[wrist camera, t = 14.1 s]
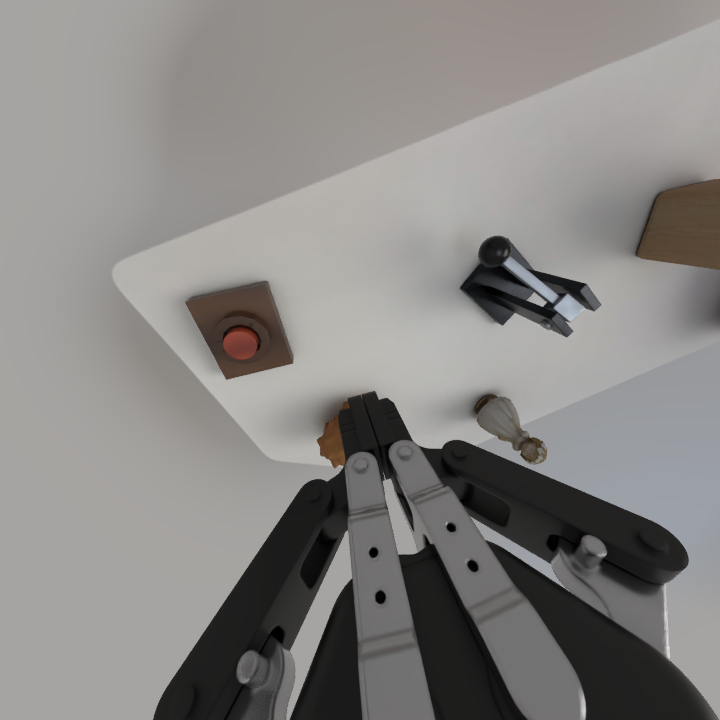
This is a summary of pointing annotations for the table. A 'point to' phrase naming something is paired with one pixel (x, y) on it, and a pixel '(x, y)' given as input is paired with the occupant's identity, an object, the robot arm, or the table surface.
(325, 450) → the toy
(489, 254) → the tap lever
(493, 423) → the figurine
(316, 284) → the table surface
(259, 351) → the button block
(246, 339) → the button
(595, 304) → the bracket
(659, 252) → the wooden block
